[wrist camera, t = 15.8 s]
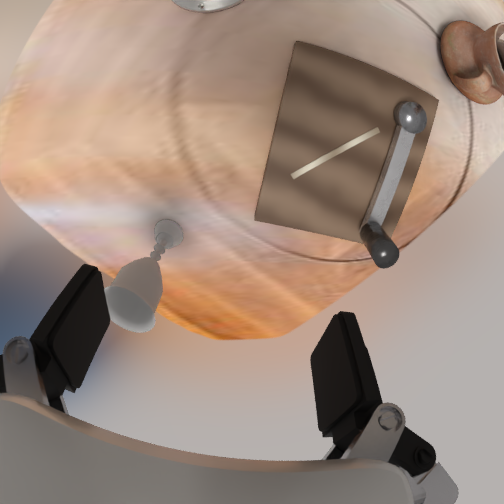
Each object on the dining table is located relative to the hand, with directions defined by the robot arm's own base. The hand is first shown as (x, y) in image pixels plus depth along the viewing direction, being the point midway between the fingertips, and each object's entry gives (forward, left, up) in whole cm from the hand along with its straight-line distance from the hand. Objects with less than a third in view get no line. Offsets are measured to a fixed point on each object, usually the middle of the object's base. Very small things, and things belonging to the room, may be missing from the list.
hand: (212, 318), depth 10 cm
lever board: (-4, +14, -30) cm, 34 cm away
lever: (-3, +20, -28) cm, 34 cm away
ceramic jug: (-27, +30, -31) cm, 50 cm away
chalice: (+15, -10, -30) cm, 35 cm away
